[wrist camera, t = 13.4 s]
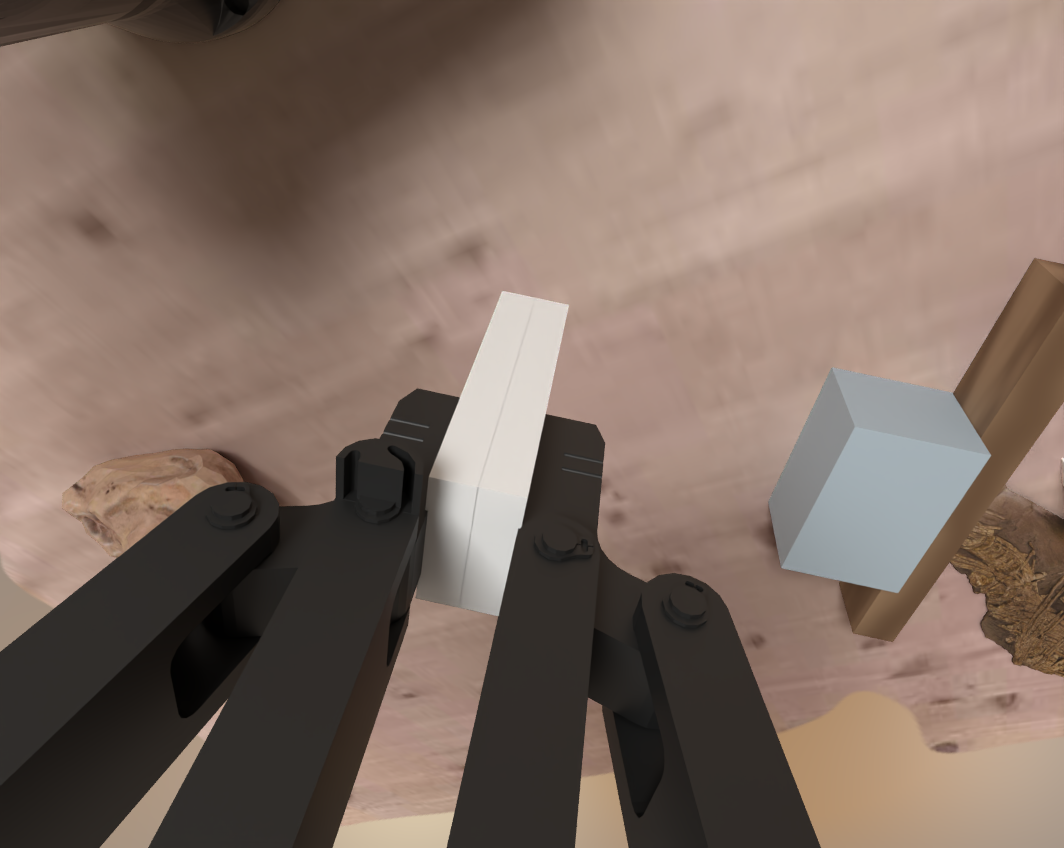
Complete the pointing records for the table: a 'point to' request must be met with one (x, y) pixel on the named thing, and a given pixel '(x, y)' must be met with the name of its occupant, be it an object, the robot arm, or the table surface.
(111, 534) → the rock
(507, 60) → the table surface
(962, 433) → the block
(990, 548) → the wooden fragment
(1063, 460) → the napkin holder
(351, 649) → the robot arm
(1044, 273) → the stop board
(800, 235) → the table surface
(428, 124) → the table surface
